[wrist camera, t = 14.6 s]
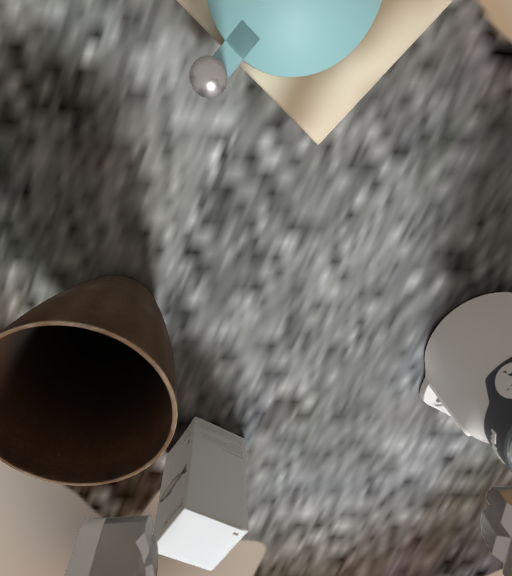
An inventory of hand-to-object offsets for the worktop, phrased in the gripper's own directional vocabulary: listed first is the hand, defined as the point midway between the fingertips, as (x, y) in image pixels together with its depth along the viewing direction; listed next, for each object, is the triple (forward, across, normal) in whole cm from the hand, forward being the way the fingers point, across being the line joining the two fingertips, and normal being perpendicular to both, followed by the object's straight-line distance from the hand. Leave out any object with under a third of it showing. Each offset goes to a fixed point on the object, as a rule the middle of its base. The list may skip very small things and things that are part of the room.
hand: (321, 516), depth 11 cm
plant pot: (+34, +14, +11) cm, 39 cm away
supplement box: (+34, +7, +31) cm, 47 cm away
